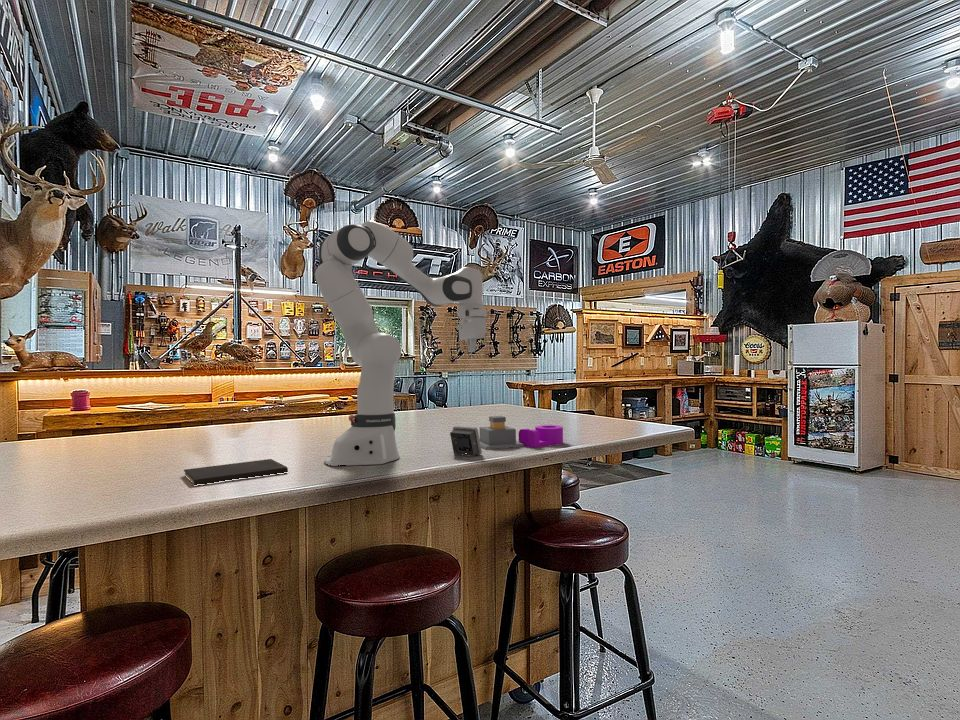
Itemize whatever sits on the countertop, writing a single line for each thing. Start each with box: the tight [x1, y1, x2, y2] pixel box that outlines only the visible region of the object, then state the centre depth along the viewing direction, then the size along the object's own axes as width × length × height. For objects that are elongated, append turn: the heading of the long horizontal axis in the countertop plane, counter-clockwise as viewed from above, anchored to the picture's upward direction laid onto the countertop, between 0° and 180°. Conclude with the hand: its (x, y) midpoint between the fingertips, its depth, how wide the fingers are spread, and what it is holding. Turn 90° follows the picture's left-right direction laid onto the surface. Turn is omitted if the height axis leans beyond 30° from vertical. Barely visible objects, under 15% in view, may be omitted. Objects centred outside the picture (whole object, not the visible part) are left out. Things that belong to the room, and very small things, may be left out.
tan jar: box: [488, 415, 507, 429], centre depth 188 cm, size 5×5×9 cm
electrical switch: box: [449, 425, 483, 457], centre depth 170 cm, size 9×5×9 cm, turn 57°
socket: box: [479, 425, 525, 450], centre depth 188 cm, size 14×14×6 cm
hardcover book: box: [183, 458, 289, 486], centre depth 145 cm, size 16×23×2 cm
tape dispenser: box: [518, 424, 564, 449], centre depth 189 cm, size 16×10×6 cm, turn 128°
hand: (471, 352), depth 189 cm, fingers closed
